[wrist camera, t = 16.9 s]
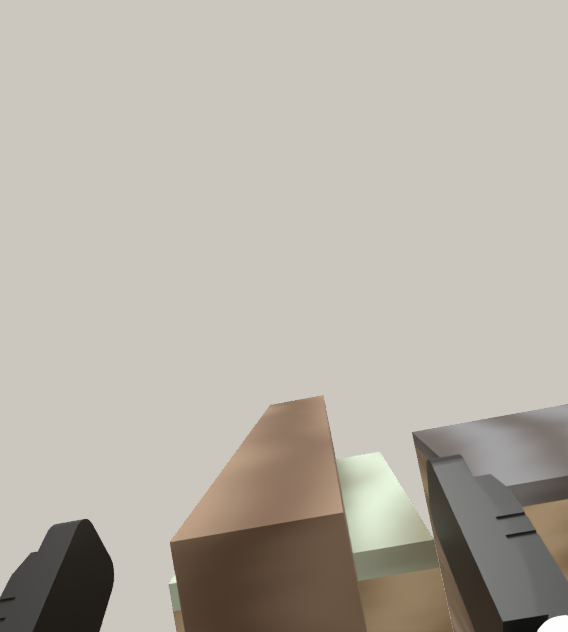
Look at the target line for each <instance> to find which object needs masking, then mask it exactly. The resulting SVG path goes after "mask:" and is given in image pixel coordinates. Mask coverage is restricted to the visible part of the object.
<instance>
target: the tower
mask: <svg viewBox="0 0 568 632" xmlns="http://www.w3.org/2000/svg"><path fill="white" fill-rule="evenodd" d="M336 464H337V469H338V475H339V480H340V485H341V491H342V496H343V502H344V507H345V513H346V518H347V524H348V529H349V535H350V540H351V546H352V551H353V556H354V562H355V567H356V573H357V578H358V584H359V589H360V595H361V600H362V606H363V611H364V616H365V622H366V627H367V632H453V629H452V624H451V619H450V614H449V609H448V605H447V600H446V595H445V590H444V585H443V581H442V576H441V571H440V566H439V561H438V557H437V552H436V547H435V542H434V539H433V537H432V536H431V534H430V532H429V531H428V529H427V527H426V526H425V524H424V523H423V521H422V519H421V518H420V516H419V515H418V513H417V511H416V510H415V508H414V506H413V505H412V503H411V501H410V500H409V498H408V497H407V495H406V493H405V492H404V490H403V489H402V487H401V485H400V484H399V482H398V481H397V479H396V477H395V476H394V474H393V472H392V471H391V469H390V467H389V466H388V464H387V463H386V461H385V459H384V458H383V456H382V454H381V453H380V452H375V453H370V454H364V455H358V456H353V457H347V458H342V459H336ZM169 589H170V595H171V600H172V607H173V613H174V618H175V625H176V631H177V632H185V630H184V624H183V618H182V612H181V606H180V600H179V594H178V588H177V582H176V576H175V575H174V576H173V578H172V579H171V581H170V583H169Z"/></svg>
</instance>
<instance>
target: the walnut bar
mask: <svg viewBox="0 0 568 632" xmlns="http://www.w3.org/2000/svg"><path fill="white" fill-rule="evenodd" d="M170 546H171V552H172V558H173V564H174V570H175V576H176V582H177V588H178V594H179V600H180V606H181V612H182V618H183V624H184V630H185V632H367V627H366V622H365V616H364V611H363V606H362V600H361V595H360V589H359V584H358V578H357V573H356V567H355V562H354V556H353V551H352V546H351V540H350V535H349V529H348V524H347V518H346V513H345V507H344V502H343V496H342V491H341V485H340V480H339V475H338V469H337V464H336V458H335V453H334V448H333V443H332V438H331V432H330V427H329V422H328V417H327V412H326V406H325V402H324V397H323V396H317V397H312V398H307V399H301V400H295V401H290V402H285V403H279V404H274V405H270V406H269V407H268V409H267V410H266V412H265V413H264V414H263V416H262V417H261V418H260V420H259V421H258V423H257V424H256V425H255V427H254V428H253V429H252V431H251V432H250V434H249V435H248V436H247V437H246V439H245V440H244V442H243V443H242V444H241V446H240V447H239V449H238V450H237V451H236V453H235V454H234V455H233V457H232V458H231V459H230V461H229V462H228V463H227V465H226V466H225V468H224V469H223V470H222V472H221V473H220V474H219V476H218V477H217V478H216V480H215V481H214V483H213V484H212V485H211V487H210V488H209V489H208V491H207V492H206V493H205V495H204V496H203V498H202V499H201V500H200V502H199V503H198V504H197V506H196V507H195V509H194V510H193V511H192V513H191V514H190V515H189V517H188V518H187V519H186V521H185V522H184V523H183V525H182V526H181V528H180V529H179V530H178V532H177V533H176V535H175V536H174V537H173V539H172V540H171V541H170Z"/></svg>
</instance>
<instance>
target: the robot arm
mask: <svg viewBox="0 0 568 632" xmlns="http://www.w3.org/2000/svg"><path fill="white" fill-rule="evenodd" d="M426 467H427V479H428V492H429V504H430V511H431V516H432V520H433V524H434V527H435V530H436V533H437V536H438V539H439V541H440V544H441V546H442V549H443V551H444V554H445V556H446V559H447V562H448V564H449V567H450V569H451V572H452V574H453V577H454V579H455V582H456V584H457V587H458V590H459V592H460V595H461V597H462V600H463V602H464V605H465V607H466V610H467V612H468V615H469V618H470V620H471V623H472V625H473V628H474V630H475V632H568V581H567V579H566V577H565V576H564V574H563V573H562V571H561V569H560V568H559V566H558V564H557V563H556V561H555V560H554V558H553V556H552V555H551V553H550V552H549V550H548V548H547V547H546V545H545V544H544V542H543V540H542V539H541V537H540V536H539V535H538V534H537V532H536V529H535V528H534V526H533V524H532V523H531V521H530V520H529V518H528V516H526V515H525V511H524V510H523V508H522V507H521V505H520V503H519V502H518V500H517V499H516V497H515V495H514V494H513V492H512V491H511V490H510V489H509V488H508V487H506V486H505V485H504V484H503V483H501V482H500V481H499V480H498V479H496V478H495V477H494V476H493V475H491V474H487V475H481V476H476V477H473V475H472V473H471V471H470V469H469V467H468V466H467V464H466V462H465V460H464V459H463V457H462V456H461V455H460V454H456V455H451V456H445V457H440V458H434V459H428V460H427V462H426ZM113 582H114V568H113V563H112V560H111V558H110V556H109V554H108V552H107V551H106V548H105V547H104V545H103V543H102V541H101V539H100V537H99V535H98V534H97V532H96V530H95V528H94V526H93V524H92V523H91V522H90V521H89V520H88V519H83V520H77V521H71V522H66V523H60V524H55V525H53V526H52V527H51V528H50V529H49V530H48V532H47V534H46V536H45V538H44V540H43V542H42V545H41V546H40V548H39V550H38V552H33V553H31V554H30V555H29V556H28V557H27V558H26V559H25V561H24V562H23V563H22V564H21V565H20V566H19V567H18V568H17V570H16V571H15V572H14V573H13V574H12V576H11V578H10V579H9V581H8V583H7V585H6V587H5V589H4V591H3V593H2V595H1V597H0V632H99V631H100V628H101V625H102V621H103V618H104V615H105V611H106V608H107V605H108V601H109V598H110V595H111V591H112V588H113Z"/></svg>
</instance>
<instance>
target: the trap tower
mask: <svg viewBox="0 0 568 632" xmlns="http://www.w3.org/2000/svg"><path fill="white" fill-rule="evenodd" d="M412 434H413V439H414V444H415V449H416V453H417V458H418V463H419V468H420V473H421V478H422V482H423V487H424V492H425V497H426V502H427V506H428V511H429V515H430V521H431V525H432V530H433V535H434V540H435V545H436V550H437V554H438V559H439V564H440V569H441V574H442V578H443V583H444V588H445V593H446V598H447V602H448V607H449V612H450V617H451V622H452V626H453V631H454V632H475V630H474V628H473V625H472V623H471V620H470V618H469V615H468V612H467V610H466V607H465V605H464V602H463V600H462V597H461V595H460V592H459V590H458V587H457V584H456V582H455V579H454V577H453V574H452V572H451V569H450V567H449V564H448V562H447V559H446V556H445V554H444V551H443V549H442V546H441V544H440V541H439V539H438V536H437V533H436V530H435V527H434V524H433V520H432V516H431V511H430V504H429V492H428V479H427V467H426V462H427V460H428V459H434V458H440V457H445V456H451V455H456V454H460V455H461V456H462V457H463V459H464V460H465V462H466V464H467V466H468V467H469V469H470V471H471V473H472V475H473V477H476V476H481V475H487V474H491V475H493V476H494V477H495V478H496V479H498V480H499V481H500V482H501V483H503V484H504V485H505V486H506V487H508V488H509V489H510V490H511V491H512V492H513V494H514V495H515V497H516V499H517V500H518V502H519V503H520V505H521V507H522V508H523V510H524V511H525V515H526V516H528V518H529V520H530V521H531V523H532V524H533V526H534V528H535V529H536V532H537V534H538V535H539V536H540V537H541V539H542V540H543V542H544V544H545V545H546V547H547V548H548V550H549V552H550V553H551V555H552V556H553V558H554V560H555V561H556V563H557V564H558V566H559V568H560V569H561V571H562V573H563V574H564V576H565V577H566V579H567V581H568V404H567V405H561V406H555V407H550V408H545V409H539V410H533V411H528V412H522V413H516V414H511V415H506V416H500V417H494V418H489V419H484V420H478V421H472V422H467V423H461V424H455V425H450V426H444V427H439V428H433V429H428V430H422V431H417V432H412Z"/></svg>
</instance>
